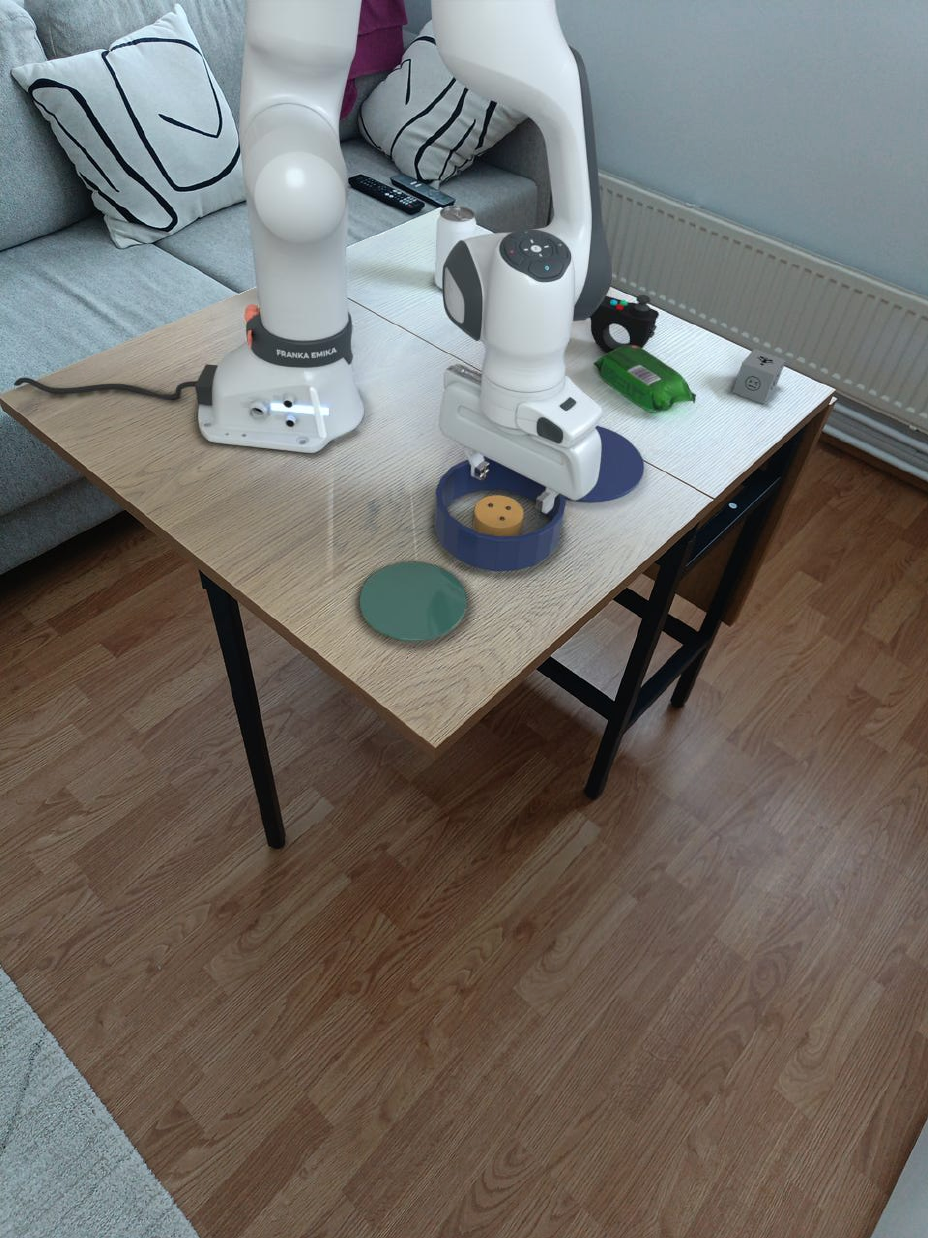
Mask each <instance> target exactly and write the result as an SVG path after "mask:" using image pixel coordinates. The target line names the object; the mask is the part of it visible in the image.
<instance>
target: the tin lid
mask: <svg viewBox="0 0 928 1238" xmlns="http://www.w3.org/2000/svg"><path fill="white" fill-rule="evenodd" d="M595 429H596V430H597V431H598V433H599V435H600V438H601V462H600V470H599V476H598V480H597V483H596V485H595V486H594V487H593V489H592V490H591V491H590V492H589V493H588V494H586V495H585V496H584V497H582V498H580V499H578V500H572V499H570V498H568V497H566V496H565V500H570V501H575V502H580V503H581V502H582V503H602V502H603V503H604V502H610V501H613V500H617V499H621V498H622V497H625V496H626V495H628V494H630V493H631V492H633V491H634V490H635V489H636V488H637V487H638V486H639V484H640V483H641V481H642V479H643V476H644V470H645V463H644V460H643V457H642V454H641V452H640V451H639V450H638V448H637V447H636V446H635V445H634V444H633V443H632V442H631V441H630V440H628V439H627V438H626V437H624V436H623V435H621V434H619V433H618V432H615V431H614V430H611V429H609V428H607V427H603V426H600V425H597V426H596V427H595Z"/></svg>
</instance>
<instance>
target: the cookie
mask: <svg viewBox="0 0 928 1238" xmlns="http://www.w3.org/2000/svg"><path fill="white" fill-rule="evenodd" d="M524 517H525V513H524V508H523V506H522V505H521V504H520V503H519V501H517V500H516V499H514V498H512V497H509V496H506V495H501V494H500V495H498V494H497V495H495V494H494V495H488V496H485V497H483V498H481V499H479V500H478V501H477V502H476V504H475V506H474V510H473V520H472V529H473V530H475V531H477V532H479V533H484V534H489V535H495V536H520V535H521V533H522V530H523V529H522V528H523V523H524Z"/></svg>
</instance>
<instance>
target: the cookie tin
mask: <svg viewBox="0 0 928 1238" xmlns="http://www.w3.org/2000/svg"><path fill="white" fill-rule="evenodd" d="M483 458H484V461H486V462H488V463H490V464H489V468H488V469H489V473H488V475H487V477H485V478H483V480H479V479H477V478H475V477H473V476H471V465H470V463H469V461H468V459H464V460H463V461H461V462H458V463H456V464H455V465H453V466H451V467H450V468H449V469H447V471H446V472H445V473H444V474H442V476H441V477H440V478H439V481H438V482H437V483H438V484H437V485H436V489H435V496H434V497H435V498H434V516H433V517H434V518H433V520H434V521H433V522H434V523H433V524H434V532H435V536H436V538H437V539H438V541H439V543H440V544H441V546H442V548H443V549H444V550H446V552H448V553H449V554H450V555H451V556H452V557H454V558H455V559H456V560H458V561H460V562H462V563H465V564H467V565H468V566H471V567H473V568H476V569H482V570H487V571H491V572H516V571H519V570H523V569H527V568H530V567H531V568H532V567H534V566H536V565H537V564H539V563H541V562H543V561H544V560H546V559H548V558H549V557H550V556H551V554H552V553H553V552H554V551H555V549H556V548H557V547H558V544H559V540H560V535H561V531H562V526H563V520H564V515H565V511H566V504H567V501H566V500H567V499H566V498H565V496H564V495H562V494H560V493H559V494H558V495H557V496H556V497H555V499H554V506H553V508H552V509H551V510H550V511H549V512H548V513H547V514H546V515H548V517H549V518H550V522H548V523H547V524H546V525H544V526H543V527H541V528H539V529H538V530H535V531H532V532H529V533H524V534H520V535H519V536H495V535H489V534H484V533H479V532H477V531H475V530H474V529H473V528H470V527H468V526H465V525H464V524H462V523H461V522H460V521H459V520H457V519H456V518H455V517H453V516H452V515H451V514H450V512H449V511H448V509H447V508H448V507H449V506H450V505H451V504H452V503H453V502H454V501H456V500H458V499H461V498H462V497H464V496H465V495H467V494H472V493H476V492H481V491H503V492H508V493H513V494H517V495H519V496H522V497H524V498H527V499H528V500H531V501H533V502H534V503H535V504H536V498H537V497H538V496H540V495H542V493H543V492H544V491H546V486H544V485H542V484H540V483H538V482H536V481H534V480H532V479H530V478H528V477H526V476H524V475H522V474H520V473H518V472H516V471H514V470H512V469H510V468H508V467H506V466H504V465H502V464H500V463H498V462H496V461H494V460H492V459H490V458H487V457H485V456H483Z"/></svg>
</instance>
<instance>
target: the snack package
mask: <svg viewBox="0 0 928 1238" xmlns="http://www.w3.org/2000/svg"><path fill="white" fill-rule="evenodd" d="M593 365H594V366H595V367H596V369H597V370H598V373H599V375H600V377H601V379H602V380H603V382H604V383H606V384H607V385H608V386H609V387H611V388H613V389H614V390H615V391H616V392H618V393H619V394H621V395H622V396H624V397H625V398H626V399H627V400H629V401H631V402H632V403H633V404H635V405H636V406H638V407H640V408H641V409H642V410H644V411H646V412H648V413H650V414H656V413H658V412H666V411H668V410H670V409H671V408H672V407H673V406H675V405H678V404H682V403H687V402H692V403H693V404H695V403H696V397H697V394H696V393H694V392H693V391H692V390H691V389H690V386H689V384H688V382H687V381H686V379H685V378H684V377H683V376H682V374H681V373H679V372H678V371H676V370H675V369H674V368H672V367H671V366H669V365H668V364H666V362H665V363H664V362H663V361H662V360H660V359H659V358H658V357H656V356H655V355H653V354H651V353H650V352H648V351H647V350H646V349H644V348H641V347H638V346H636V345H625V346H621V347H619V348H617V349H615V350H613V351H611V352H609V353H605V354H603V355H601V356H600V357H599V358H598V359H597V360H596V361H594V362H593Z"/></svg>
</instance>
